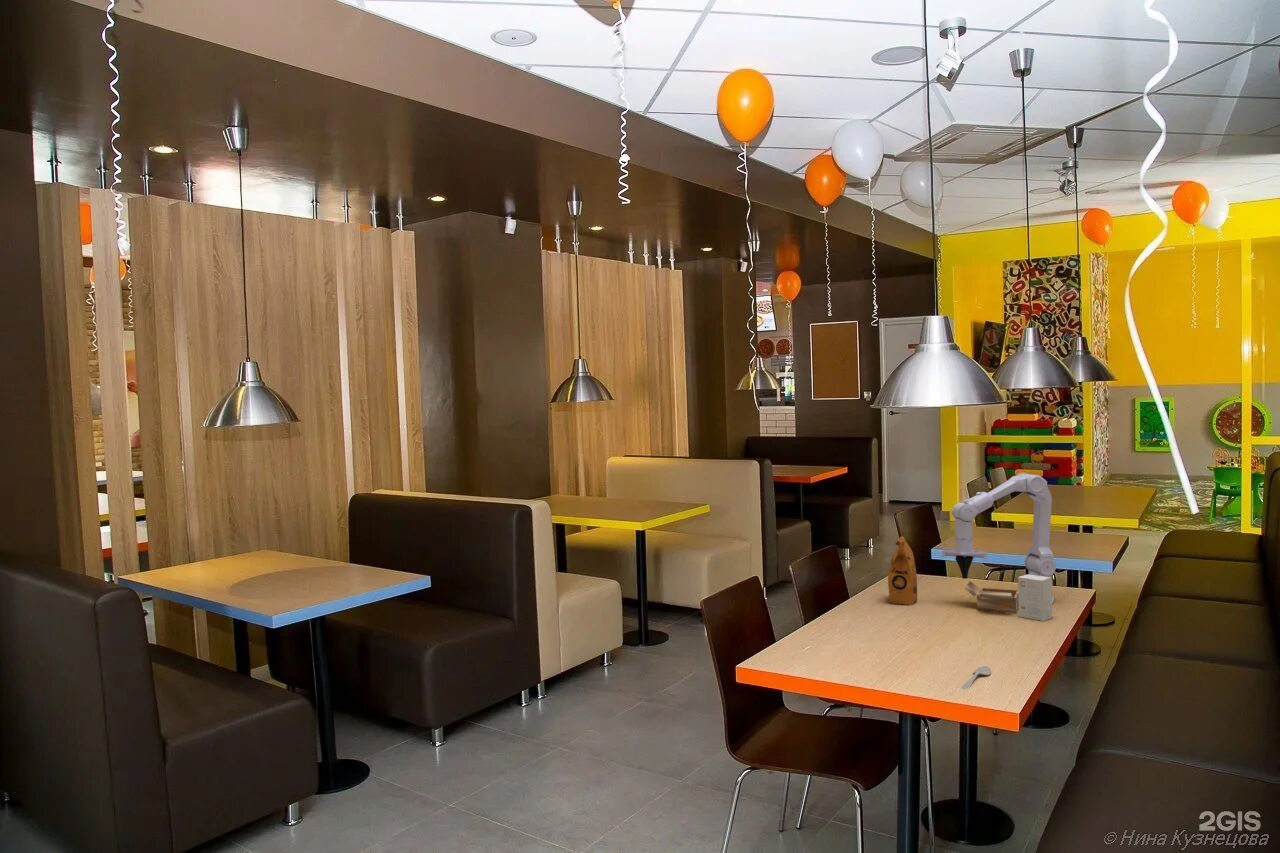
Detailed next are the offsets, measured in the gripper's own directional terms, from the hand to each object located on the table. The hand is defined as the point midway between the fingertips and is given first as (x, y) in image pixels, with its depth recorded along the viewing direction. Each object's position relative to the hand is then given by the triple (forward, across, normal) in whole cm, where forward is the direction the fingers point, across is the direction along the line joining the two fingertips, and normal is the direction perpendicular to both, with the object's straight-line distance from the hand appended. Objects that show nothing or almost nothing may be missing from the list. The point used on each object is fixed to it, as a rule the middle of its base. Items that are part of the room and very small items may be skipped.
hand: (964, 578), depth 297 cm
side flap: (+3, +3, 0) cm, 4 cm away
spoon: (+10, +13, -80) cm, 82 cm away
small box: (+10, +22, -9) cm, 26 cm away
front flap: (+3, +11, -8) cm, 14 cm away
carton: (+9, +10, 0) cm, 14 cm away
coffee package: (+9, -21, -2) cm, 23 cm away
